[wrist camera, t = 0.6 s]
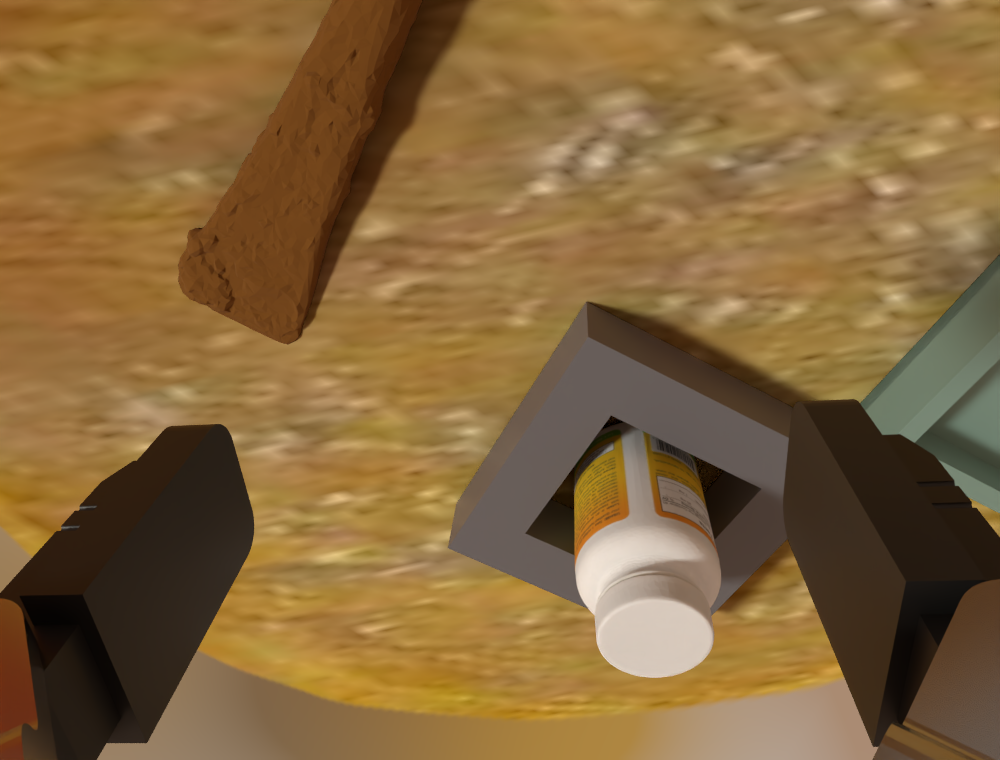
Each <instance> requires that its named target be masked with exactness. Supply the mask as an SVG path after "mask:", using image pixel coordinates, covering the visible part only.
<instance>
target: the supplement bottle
mask: <svg viewBox="0 0 1000 760" xmlns="http://www.w3.org/2000/svg"><path fill="white" fill-rule="evenodd" d="M574 519H575V536H574V537H575V543H574V547H575V549H574V550H575V574H576V584H577V588H578V591H579V594H580V596H581V598H582V600H583V602H584V604H585V605H586V606H587V608H588V609H589V610H590V611H591V612H592V613H593V614H594V615H595V625H596V639H597V645H598V647H599V650H600V652H601V654H602V655H603V657H604V658H605V659H606V660H607V661H608V662H609V663H610V664H611V665H613V666H614V667H616V668H618V669H619V670H621V671H623V672H626V673H629V674H632V675H636V676H641V677H650V678H659V677H668V676H673V675H677V674H680V673H683V672H685V671H688V670H690V669H692V668H693V667H695V666H697V665H698V664H699V663H701V662H702V661H703V660H704V659H705V658H706V656H707V655H708V654H709V652H710V650H711V648H712V646H713V641H714V630H713V623H712V618H711V610H710V608H711V606H712V605H713V603H714V602H715V600H716V598H717V596H718V593H719V590H720V585H721V569H720V563H719V558H718V553H717V549H716V545H715V541H714V537H713V533H712V528H711V524H710V520H709V516H708V511H707V507H706V503H705V499H704V494H703V490H702V486H701V482H700V477H699V473H698V469H697V465H696V462H695V458H694V456H693V455H691V454H689V453H687V452H685V451H683V450H681V449H679V448H677V447H675V446H673V445H671V444H669V443H667V442H665V441H663V440H661V439H659V438H656V437H654V436H652V435H650V434H648V433H646V432H644V431H642V430H640V429H638V428H636V427H634V426H632V425H630V424H628V423H626V422H623V423H619V424H615V425H612V426H610V427H607V428H605V429H603V430H601V431H600V432H599V433H598V434H597V436H596V437H595V438H594V440H593V441H592V442H591V444H590V445H589V447H588V448H587V449H586V451H585V452H584V453H583V455H582V456H581V458H580V459H579V460H578V462H577V463H576V464H575V469H574Z"/></svg>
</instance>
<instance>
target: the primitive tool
mask: <svg viewBox="0 0 1000 760" xmlns="http://www.w3.org/2000/svg"><path fill="white" fill-rule="evenodd" d="M422 1H423V0H333V1H332V3H331V5H330V8H329V10H328V13H327V14H326V16H325V17H324V18H323V20H322V22H321V25H320V27H319V29H318V31H317V34H316V36H315V38H314V39H313V41H312V43H311V45H310V47H309V48H308V50H307V51H306V53H305V55H304V56H303V58H302V60H301V62H300V65H299V66H298V68H297V70H296V72H295V74H294V76H293V78H292V80H291V82H290V84H289V86H288V87H287V89H286V91H285V92H284V94H283V96H282V98H281V100H280V102H279V103H278V105H277V107H276V109H275V111H274V113H272V114H271V115H270V116H269V122H268V124H267V127H266V129H265V130H264V131H263V132H262V133H261V134H260V135H259V136H258V138H257V142H256V143H255V145H254V146H253V149H252V153H250V154H248V156H247V157H246V159H245V160H244V162H243V163H242V167H241V168H240V170H239V172H238V174H237V177H236V179H235V181H234V183H233V184H232V186H231V187H230V188H229V189H228V191H227V192H226V194H225V195H224V196H223V198H222V199H221V201H220V203H219V204H218V206H217V209H216V211H215V213H214V214H213V215H212V217H211V218H210V220H209V221H208V223H207V224H206V225H205V226H204V227H203V228H202V229H198V228H195V229H193V230H190V231H189V233H188V237H187V238H188V243H187V249H186V250H185V252H184V253H183V255H182V256H181V258H180V261H179V264H178V267H179V279H178V281H179V284H180V287H181V289H182V292H183V293H184V294H185V295H186V296H188V298H189V299H191V300H193V301H196V302H198V303H199V304H204V305H207V306H208V307H210V308H211V309H212V310H214V311H216V312H218V313H220V314H222V315H224V316H226V317H228V318H230V319H232V320H235V321H237V322H239V323H241V324H243V325H245V326H247V327H249V328H250V329H252V330H255V331H257V332H259V333H261V334H263V335H265V336H267V337H269V338H272V339H274V340H276V341H278V342H281V343H285V344H289V343H291V342H293V341H295V340H296V339H297V338H298V336H299V335H300V333H301V330H302V326H303V324H304V321H305V318H306V316H307V313H308V310H309V307H310V305H311V302H312V299H313V295H314V292H315V288H316V284H317V281H318V277H319V274H320V270H321V264H322V261H323V257H324V254H325V250H326V247H327V243H328V240H329V237H330V234H331V231H332V228H333V225H334V222H335V220H336V217H337V215H338V213H339V211H340V208H341V206H342V204H343V202H344V200H345V198H346V197H347V196H348V195H349V193H350V190H351V187H350V182H351V177H352V174H353V172H354V170H355V167H356V165H357V164H358V161H359V158H360V155H361V152H362V150H363V147H364V144H365V141H366V139H367V137H368V135H369V133H370V132H371V131H373V130H374V128H375V124H376V122H377V120H378V118H379V116H380V114H381V113H382V102H383V97H384V92H385V89H386V86H387V83H388V82H389V80H390V78H391V76H392V74H393V73H394V70H395V66H396V64H397V62H398V60H399V59H400V57H401V54H402V51H403V48H404V45H405V43H406V40H407V37H408V34H409V31H410V28H411V26H412V25H413V23H414V22H415V20H416V19H417V12H418V10H419V8H420V5H421V3H422Z"/></svg>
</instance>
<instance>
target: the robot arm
mask: <svg viewBox="0 0 1000 760" xmlns="http://www.w3.org/2000/svg"><path fill="white" fill-rule="evenodd" d="M971 503H972V502H971V501H970V499H969V498H968V497H967V496H966V494H965V493H964V492H963V491H962V489H961V488H960V487H959V486H955V480H954V479H953V478H952V477H951V475H950V474H949V473H948V472H947V470H946V469H945V468H944V467H943V465H942V464H941V463H940V462H939V460H938V459H937V458H936V457H935V455H933V454H932V453H930V452H928V451H927V450H925V449H924V448H922V447H920V446H919V445H917V444H916V443H914V442H912V441H911V440H909V439H908V438H906V437H904V436H903V435H901V434H892V435H882V433H881V432H880V431H879V429H878V428H877V426H876V425H875V424H874V422H873V421H872V419H871V418H870V417H869V415H868V414H867V412H866V411H865V410H864V408H863V407H862V405H861V404H860V403H859V402H858V401H857V400H854V399H850V400H825V401H801V402H797V403H796V404H795V405H794V407H793V410H792V415H791V422H790V432H789V442H788V452H787V462H786V472H785V483H784V493H783V515H784V524H785V529H786V534H787V538H788V541H789V544H790V546H791V549H792V551H793V553H794V556H795V558H796V561H797V563H798V566H799V568H800V570H801V573H802V575H803V578H804V580H805V583H806V585H807V587H808V590H809V592H810V595H811V597H812V600H813V602H814V604H815V607H816V609H817V612H818V614H819V617H820V619H821V621H822V624H823V626H824V629H825V631H826V634H827V636H828V638H829V641H830V643H831V646H832V648H833V651H834V653H835V655H836V658H837V660H838V663H839V665H840V668H841V670H842V672H843V675H844V677H845V680H846V682H847V685H848V687H849V689H850V692H851V694H852V697H853V699H854V701H855V704H856V706H857V709H858V711H859V714H860V716H861V718H862V721H863V723H864V726H865V728H866V730H867V733H868V736H869V738H870V740H871V743H872V745H873V747H878V749H877V752H876V754H875V756H874V758H873V760H1000V537H999V536H998V535H997V533H996V532H995V531H994V530H993V528H992V527H991V526H990V525H989V523H988V522H987V521H986V520H985V518H984V517H983V516H982V515H981V513H980V512H979V511H978V509H977V508H972V504H971ZM61 527H62V529H61V531H56V532H55V533H54V535H53V536H52V537H51V538H50V539H49V540H48V541H47V542H46V543H45V544H44V546H43V547H42V548H41V549H40V550H39V551H38V552H37V553H36V554H35V555H34V557H33V558H32V559H31V560H30V561H29V562H28V563H27V564H26V565H25V566H24V568H23V569H22V570H21V571H20V572H19V573H18V574H17V575H16V576H15V577H14V579H13V580H12V581H11V582H10V583H9V584H8V585H7V586H6V587H5V588H4V590H3V591H2V592H1V593H0V760H97V758H98V756H99V755H100V753H101V751H102V750H103V748H104V746H105V745H106V743H147V742H148V740H149V738H150V736H151V734H152V733H153V731H154V729H155V727H156V725H157V723H158V721H159V720H160V718H161V716H162V714H163V712H164V710H165V708H166V706H167V705H168V703H169V701H170V699H171V697H172V695H173V693H174V692H175V690H176V688H177V686H178V684H179V682H180V681H181V679H182V677H183V675H184V673H185V671H186V669H187V668H188V666H189V664H190V662H191V660H192V658H193V656H194V655H195V653H196V651H197V649H198V647H199V645H200V643H201V642H202V640H203V638H204V636H205V634H206V632H207V630H208V629H209V627H210V625H211V623H212V621H213V619H214V617H215V616H216V614H217V612H218V610H219V608H220V606H221V604H222V603H223V601H224V599H225V597H226V595H227V593H228V591H229V590H230V588H231V586H232V584H233V582H234V580H235V578H236V577H237V575H238V573H239V571H240V569H241V567H242V565H243V564H244V562H245V560H246V558H247V556H248V554H249V552H250V549H251V546H252V542H253V535H254V517H253V511H252V507H251V504H250V500H249V497H248V493H247V490H246V486H245V482H244V479H243V475H242V472H241V468H240V465H239V461H238V458H237V454H236V451H235V447H234V444H233V440H232V437H231V435H230V433H229V431H228V430H227V428H226V427H225V426H223V425H221V424H210V425H186V426H170V427H168V428H166V429H165V430H164V431H163V432H162V433H161V434H160V435H159V436H158V437H157V438H156V440H155V441H154V442H153V443H152V444H151V445H150V446H149V448H148V449H147V450H146V451H145V452H144V453H143V454H142V456H141V457H140V458H139V459H138V460H137V461H133V462H131V463H130V464H128V465H127V466H125V467H124V468H122V469H120V470H119V471H117V472H116V473H114V474H113V475H111V476H110V477H108V478H107V479H105V480H104V481H102V482H101V483H100V484H99V485H98V486H97V487H96V488H95V489H94V491H93V492H92V493H91V494H90V495H89V496H88V497H87V498H86V499H85V500H84V502H83V503H82V504H81V505H80V510H79V511H74V513H73V514H72V515H71V516H70V517H69V518H68V519H67V520H66V521H65V522H64V524H63V525H62V526H61Z"/></svg>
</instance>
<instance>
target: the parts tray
mask: <svg viewBox="0 0 1000 760" xmlns="http://www.w3.org/2000/svg"><path fill="white" fill-rule="evenodd" d="M860 404H861V405H862V407H863V408H864V410H865V411H866V412H867V414H868V415H869V417H870V418H871V419H872V421H873V422H874V424H875V425H876V426H877V428H878V429H879V431H880V432H881V433H882V435H892V434H901V435H903V436H904V437H906V438H908V439H909V440H911V441H912V442H914V443H916V444H917V445H919V446H920V447H922V448H924V449H925V450H927V451H928V452H930V453H932V454H933V455H935V457H936V458H937V459H938V460H939V462H940V463H941V464H942V465H943V467H944V468H945V469H946V470H947V472H948V473H949V474H950V475H951V477H952V478H953V479H954V480H955V486H959V487H960V488H961V489H962V491H963V492H964V493H965V494H966V496H967V497H969V498H971V499H973V500H975V501H977V502H979V503H981V504H983V505H985V506H986V507H988V508H990V509H992V510H994V511H996V512H998V513H1000V255H999V256H998V257H997V258H996V259H995V260H994V261H993V262H992V264H991V265H990V266H989V267H988V268H987V269H986V270H985V271H984V272H983V273H982V274H981V275H980V276H979V277H978V278H977V280H976V281H975V282H974V283H973V284H972V285H971V286H970V287H969V288H968V289H967V290H966V291H965V292H964V293H963V294H962V296H961V297H960V298H959V299H958V300H957V301H956V302H955V303H954V304H953V305H952V306H951V307H950V308H949V309H948V310H947V312H946V313H945V314H944V315H943V316H942V317H941V318H940V319H939V320H938V321H937V322H936V323H935V324H934V325H933V326H932V328H931V329H930V330H929V331H928V332H927V333H926V334H925V335H924V336H923V337H922V338H921V339H920V340H919V341H918V342H917V344H916V345H915V346H914V347H913V348H912V349H911V350H910V351H909V352H908V353H907V354H906V355H905V356H904V357H903V358H902V360H901V361H900V362H899V363H898V364H897V365H896V366H895V367H894V368H893V369H892V370H891V371H890V372H889V373H888V374H887V376H886V377H885V378H884V379H883V380H882V381H881V382H880V383H879V384H878V385H877V386H876V387H875V388H874V389H873V391H872V392H871V393H870V394H869V395H868V396H867V397H866V398H865V399H864V400H863V401H862V402H861V403H860Z"/></svg>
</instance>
